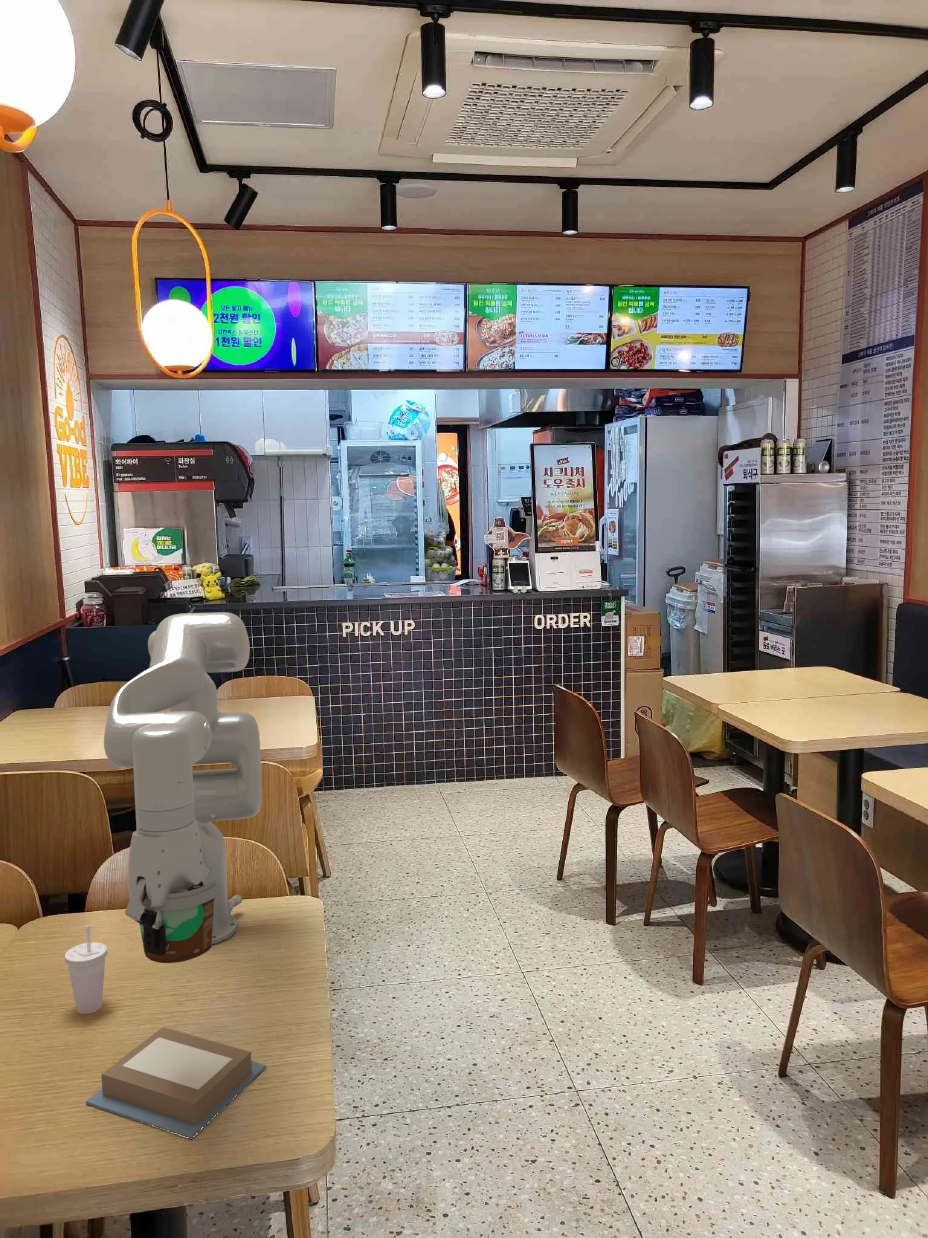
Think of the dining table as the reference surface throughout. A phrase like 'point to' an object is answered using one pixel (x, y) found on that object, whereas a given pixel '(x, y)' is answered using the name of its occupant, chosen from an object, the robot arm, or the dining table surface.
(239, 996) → the dining table surface
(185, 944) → the food container
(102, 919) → the dining table surface
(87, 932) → the smoothie
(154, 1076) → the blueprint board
